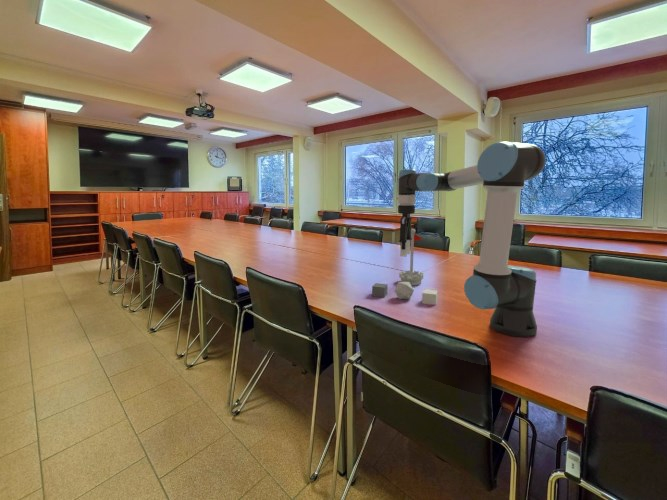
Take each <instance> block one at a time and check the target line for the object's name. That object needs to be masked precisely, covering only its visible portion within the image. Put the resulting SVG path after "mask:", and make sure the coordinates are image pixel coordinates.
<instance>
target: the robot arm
mask: <svg viewBox="0 0 667 500" xmlns="http://www.w3.org/2000/svg"><path fill="white" fill-rule="evenodd" d="M545 166H546V155H545V153H544V151H543V150H542V148H540V147H539V146H537V145H536V144H533V143H523V142H517V141H516V142H515V141H497V142H493V143H490V144H489V145H488V146H487V147H486V148H485V149H484V150H483V151H482V152H481V153H480V156H479V158H478V160H477V164H476V165H473V166H468V167H464V168H461V169H457V170H452V171H449V172H440V173H439V172H435V173H434V172H429V171H428V172H420V173H419V172H417V170H416V169H412V168H411V169H410V168H409V169H407V168H406V169H404V168H403V169H400V170H399V171H398V179H397V180H398V188H397V189H398V196H397V197H396V200H397V201H398V202H397V204H398V206H397V214H401V215H402V216H401V218H400V222H399V224H400V228H399V240H398V242H399V243H400V257H402V258H403V257H405V258H407V255H411V240H412V238H411V229H412V219H413V218H412V216H411V215H413V214H415V212H416V206H415V204H416V192H425V193H426V192H453V191H456V190H457V189H462V188H467V187H474V186H477V185H478V186H479V185H482V187H483V188H484V189H485V190H486V192H487V193H486V200H485V201H486V202H485V210H484V218H483V226H482V236H481V244H480V251H479V260H478V261H479V262H478V263H477V264H475V265H473V270H472V271H473V272H472V275H470V276H469V277H468V278H467V279H466V280H465V282H464V284H463V286H464V287H463V288H464V293H465V296H466V297H465V298H467V300H468V301H469V303H470V304H471V305H472V306H473V307H475V308H477V309H480V310H493V309H494V310H493V312H492V315H491V317H490V318H489V327H490V328H491V329H492V330H494V331H496V332H498V333H500V334H503V335H507V336H510V337H511V336H512V337H520V338H527V337H529V338H530V337H533V336H535V335H536V334H537V331H538V325H537V322H536V317H535V314H534V304H535V303H534V301H535V294H536V284H537V272H536V270H533V269H531V268H528V267H523V266H517V265H516V266H515V265H508V263H509V258H510V257H509V256H510V249H511V241H512V236H513V235H512V234H513V226H514V219H515V212H516V205H517V198H518V193H519V191H521V190H522V189H523V188H524V187H525V181H529V180H532V179H535V178H536V177H538V176H539V175H540V173H541V172H542V171H543V170H544V168H545Z"/></svg>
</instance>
